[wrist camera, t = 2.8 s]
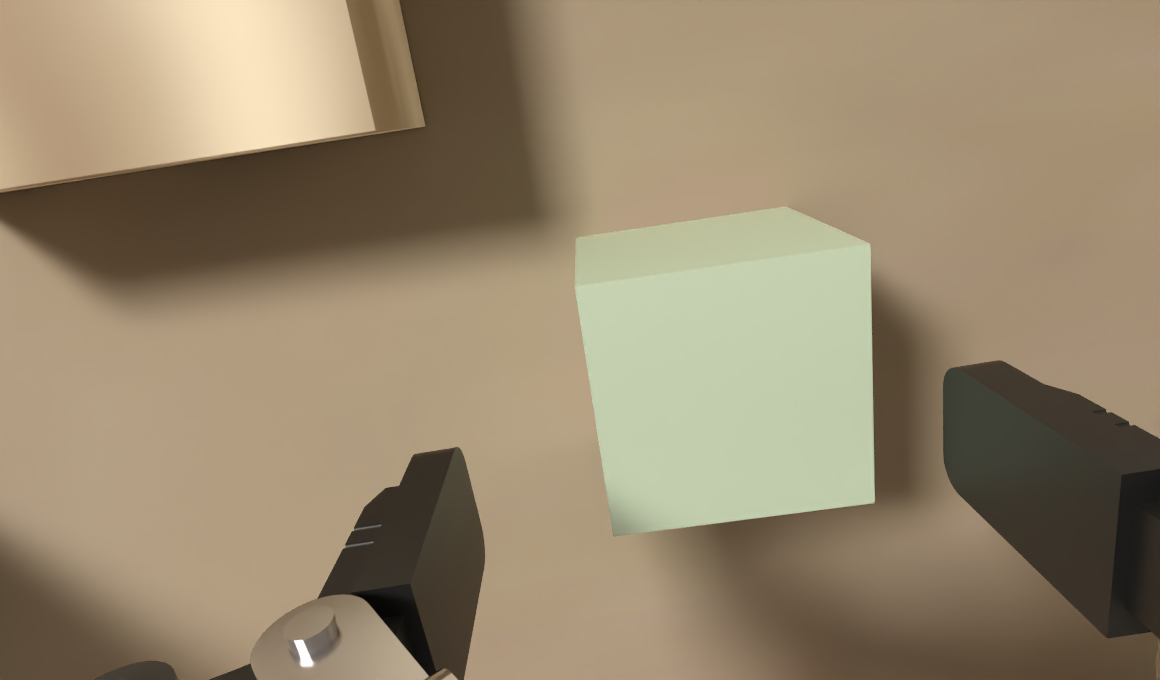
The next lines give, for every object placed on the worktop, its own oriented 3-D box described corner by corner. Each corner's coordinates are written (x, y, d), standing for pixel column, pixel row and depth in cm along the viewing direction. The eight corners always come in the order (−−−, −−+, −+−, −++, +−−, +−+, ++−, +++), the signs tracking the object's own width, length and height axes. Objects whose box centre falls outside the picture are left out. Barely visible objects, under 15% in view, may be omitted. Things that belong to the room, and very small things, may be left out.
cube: (785, 206, 16) (870, 243, 12) (796, 399, 18) (874, 502, 13) (575, 236, 16) (574, 286, 12) (604, 425, 18) (613, 536, 13)
